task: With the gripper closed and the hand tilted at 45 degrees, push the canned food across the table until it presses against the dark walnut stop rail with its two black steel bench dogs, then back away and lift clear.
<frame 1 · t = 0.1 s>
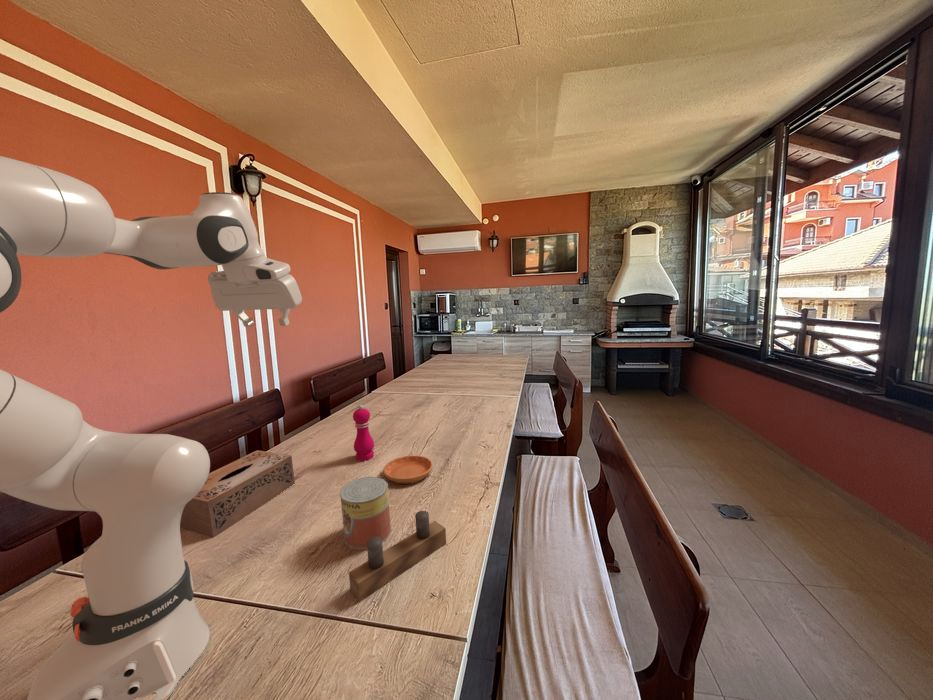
hand: (267, 325, 86), 52 cm above the table, tool tilted 20°, fingers open, 8 cm apart
bench stop: (402, 564, 77), on the table
pepper mill: (365, 457, 129), on the table
saucer: (408, 475, 116), on the table
canned food: (368, 533, 87), on the table
tissue box cover: (241, 504, 102), on the table
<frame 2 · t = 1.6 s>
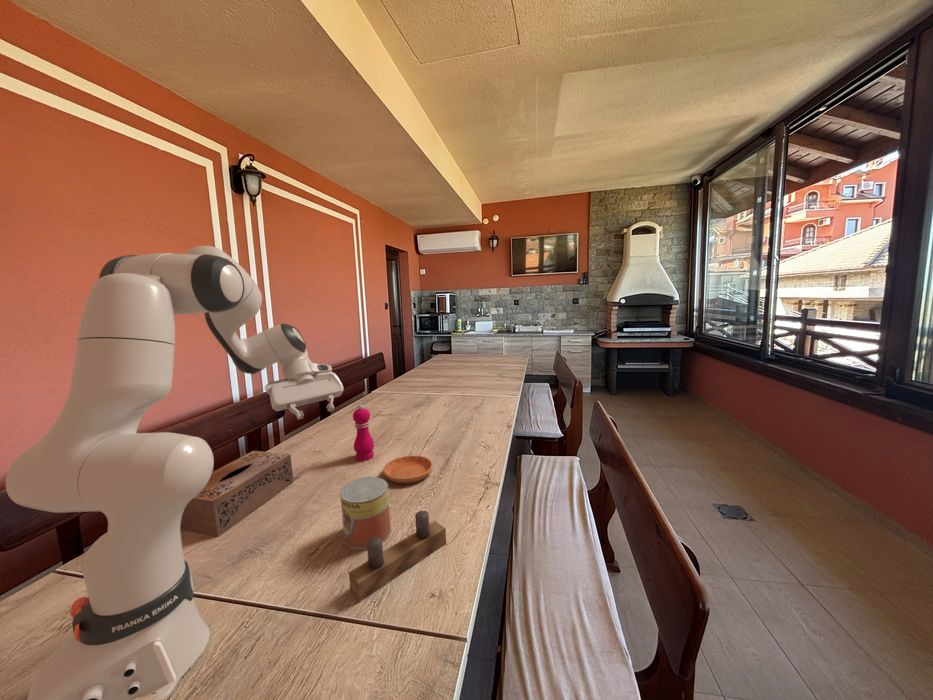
hand: (316, 413, 102), 25 cm above the table, tool tilted 45°, fingers open, 7 cm apart
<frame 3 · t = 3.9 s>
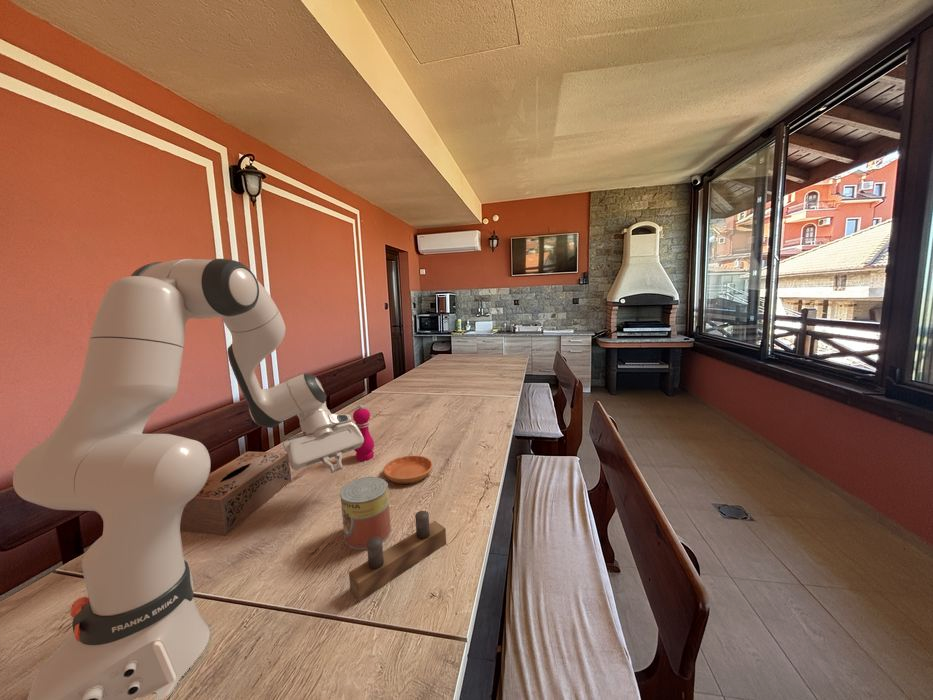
hand: (337, 470, 96), 11 cm above the table, tool tilted 45°, fingers closed
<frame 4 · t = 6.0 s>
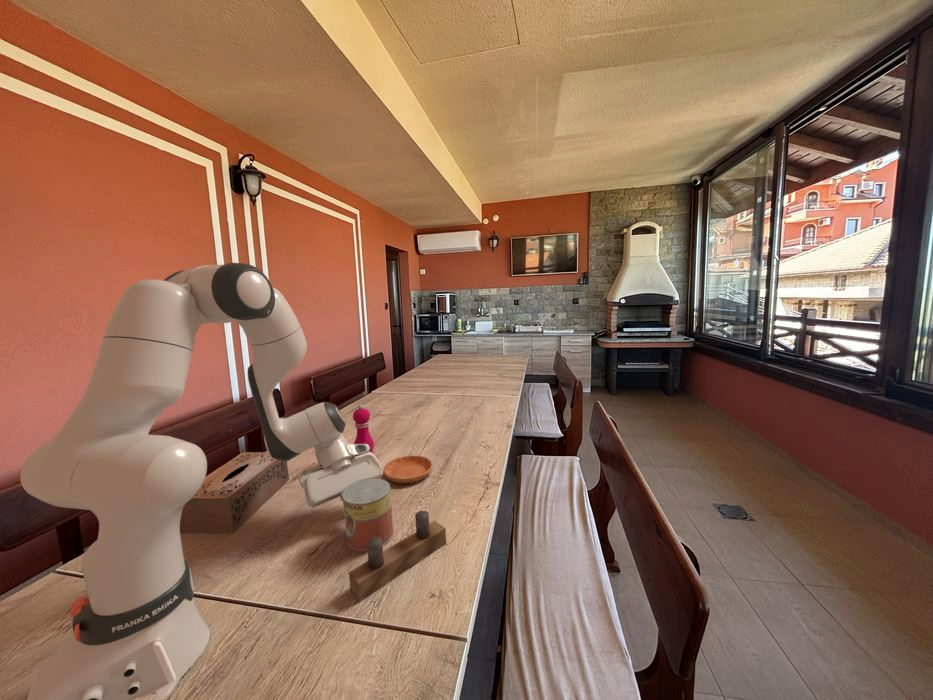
hand: (356, 507, 90), 5 cm above the table, tool tilted 45°, fingers closed, pressing on canned food
canned food: (370, 535, 87), on the table, touching gripper
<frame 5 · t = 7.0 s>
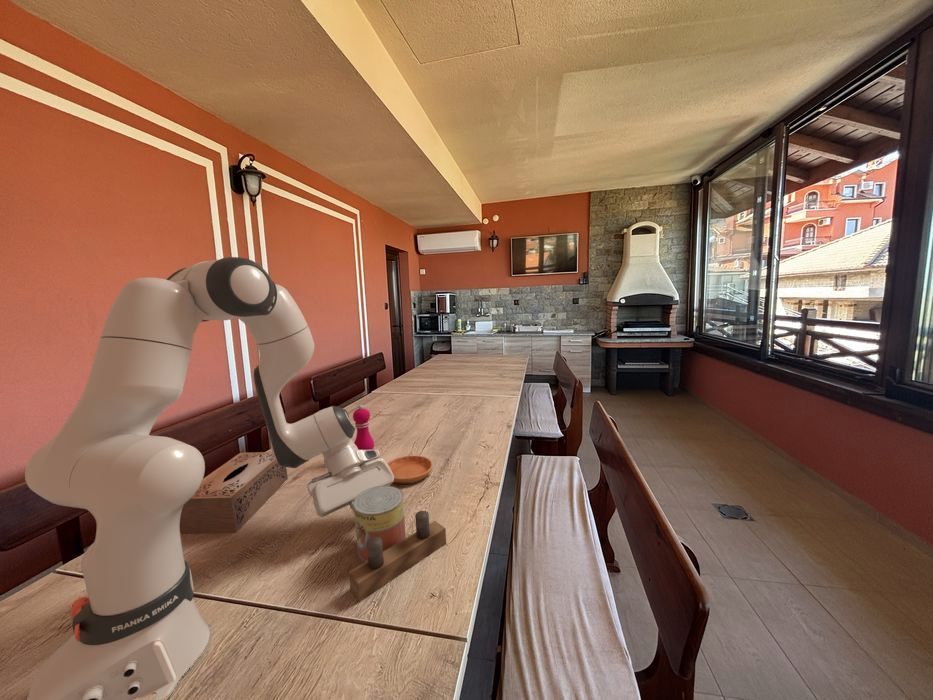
hand: (367, 516, 86), 5 cm above the table, tool tilted 45°, fingers closed, pressing on canned food
canned food: (382, 546, 83), on the table, touching gripper
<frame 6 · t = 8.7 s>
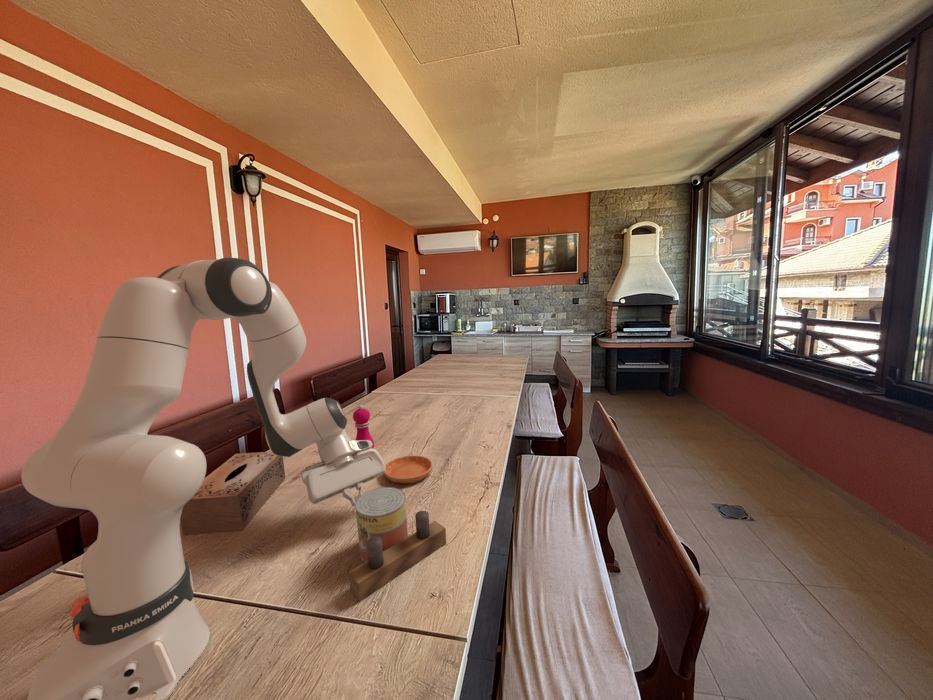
hand: (358, 503, 89), 6 cm above the table, tool tilted 45°, fingers closed
canned food: (384, 548, 82), on the table
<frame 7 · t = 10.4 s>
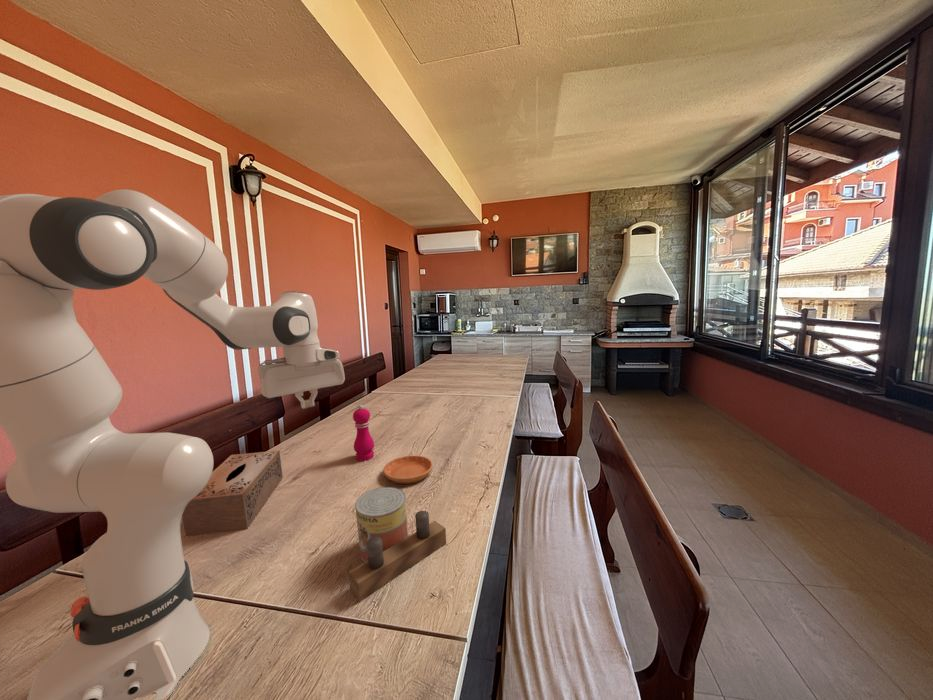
hand: (307, 407, 93), 30 cm above the table, tool pointing down, fingers closed
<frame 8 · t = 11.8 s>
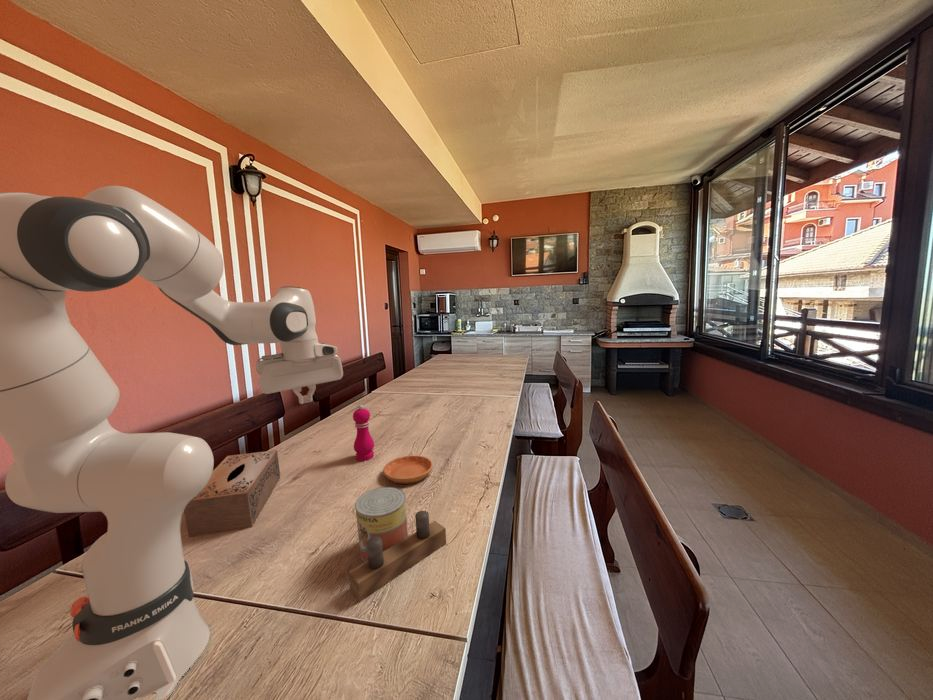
hand: (306, 402, 93), 31 cm above the table, tool pointing down, fingers closed
at the end: canned food inside the target area (0.5 cm from its centre), on the table; canned food moved 7.4 cm from its start; canned food tilted 0° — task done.
